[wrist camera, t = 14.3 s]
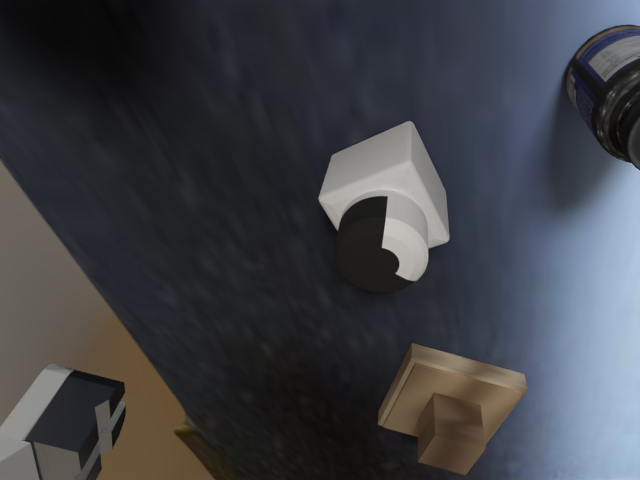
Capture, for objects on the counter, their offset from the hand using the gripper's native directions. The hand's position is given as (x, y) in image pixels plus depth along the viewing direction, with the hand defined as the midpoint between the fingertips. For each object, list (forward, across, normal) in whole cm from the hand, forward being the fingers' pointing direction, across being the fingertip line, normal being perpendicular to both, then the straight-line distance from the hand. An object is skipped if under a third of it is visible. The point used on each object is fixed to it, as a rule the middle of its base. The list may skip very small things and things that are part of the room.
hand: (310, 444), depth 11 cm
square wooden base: (+31, -17, +34) cm, 49 cm away
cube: (+29, -17, +34) cm, 48 cm away
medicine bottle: (+32, -3, +10) cm, 33 cm away
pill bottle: (+31, -16, -2) cm, 35 cm away
